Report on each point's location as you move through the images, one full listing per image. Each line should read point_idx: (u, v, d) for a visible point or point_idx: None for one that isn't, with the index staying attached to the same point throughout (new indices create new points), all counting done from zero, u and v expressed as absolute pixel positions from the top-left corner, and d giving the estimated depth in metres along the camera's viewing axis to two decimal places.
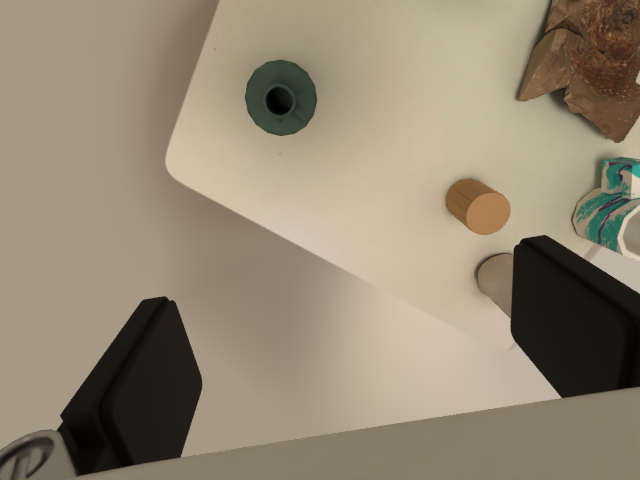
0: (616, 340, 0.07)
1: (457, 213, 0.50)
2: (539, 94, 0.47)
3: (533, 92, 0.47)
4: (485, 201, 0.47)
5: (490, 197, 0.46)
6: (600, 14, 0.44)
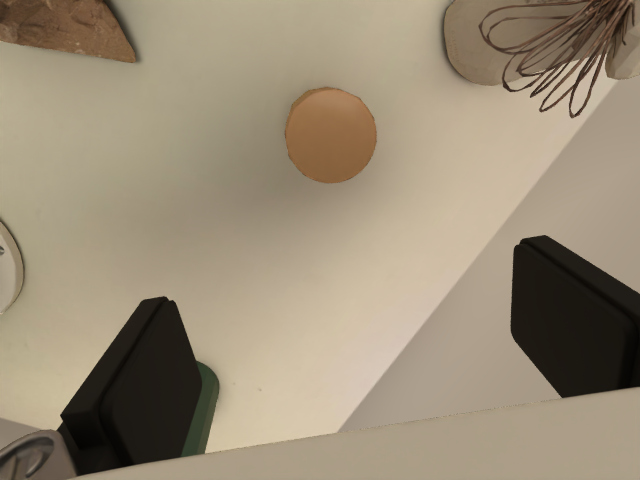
0: (616, 340, 0.07)
1: None
2: (112, 26, 0.25)
3: (112, 40, 0.25)
4: (304, 149, 0.23)
5: (296, 140, 0.23)
6: None
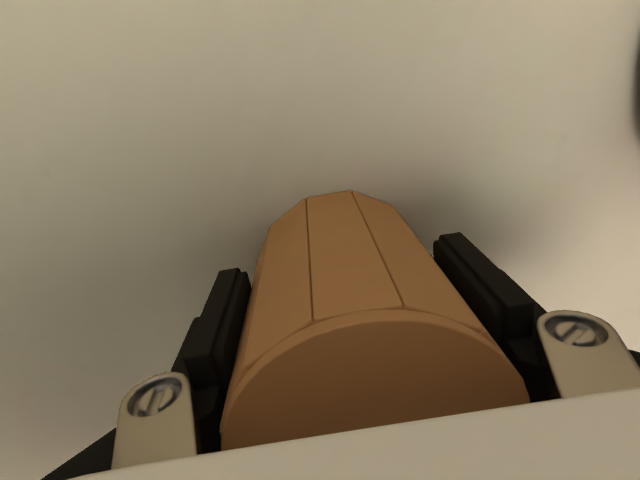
0: (489, 323, 0.08)
1: None
2: None
3: None
4: None
5: None
6: None
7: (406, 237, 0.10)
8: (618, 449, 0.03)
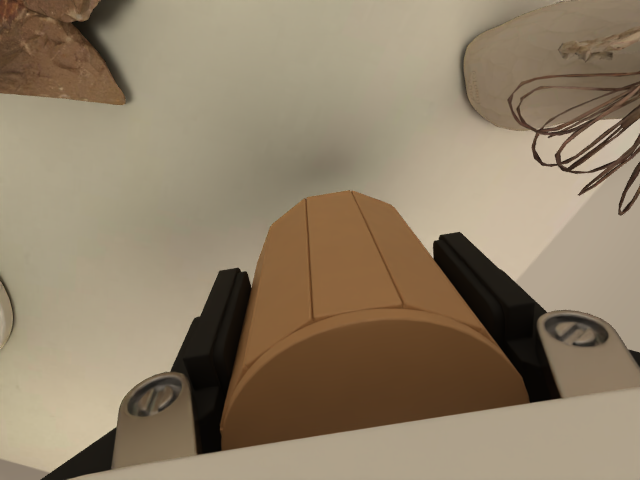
0: (489, 323, 0.08)
1: None
2: (99, 68, 0.23)
3: (99, 83, 0.23)
4: None
5: None
6: None
7: (406, 236, 0.10)
8: (618, 449, 0.03)
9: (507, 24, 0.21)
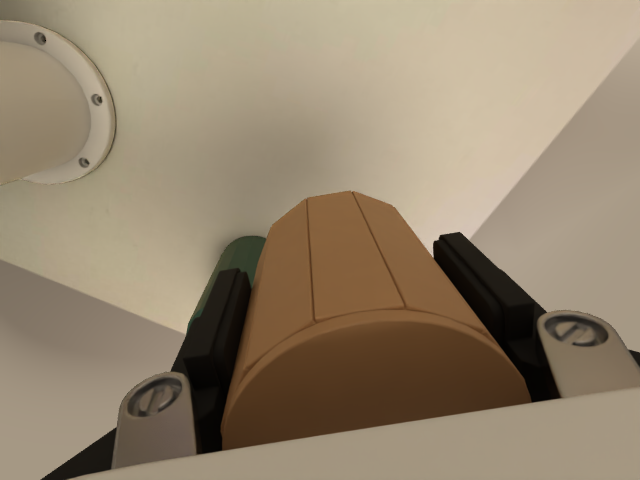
0: (489, 323, 0.08)
1: None
2: None
3: None
4: None
5: None
6: None
7: (407, 237, 0.10)
8: (618, 449, 0.03)
9: None
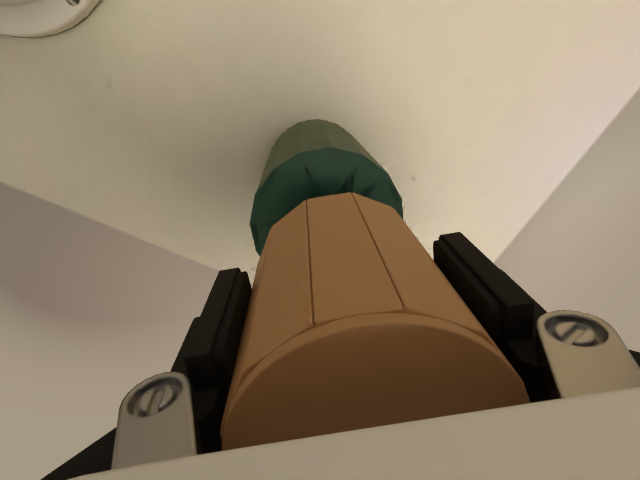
0: (489, 323, 0.08)
1: None
2: None
3: None
4: None
5: None
6: None
7: (407, 239, 0.10)
8: (618, 449, 0.03)
9: None
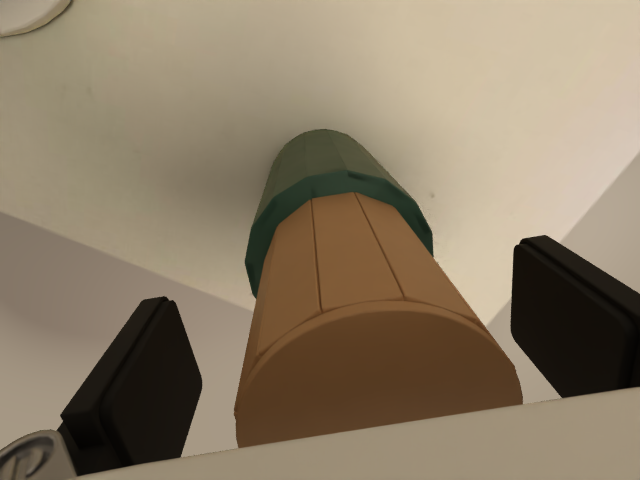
0: (616, 340, 0.07)
1: None
2: None
3: None
4: None
5: (268, 440, 0.07)
6: None
7: (407, 235, 0.10)
8: (618, 449, 0.03)
9: None
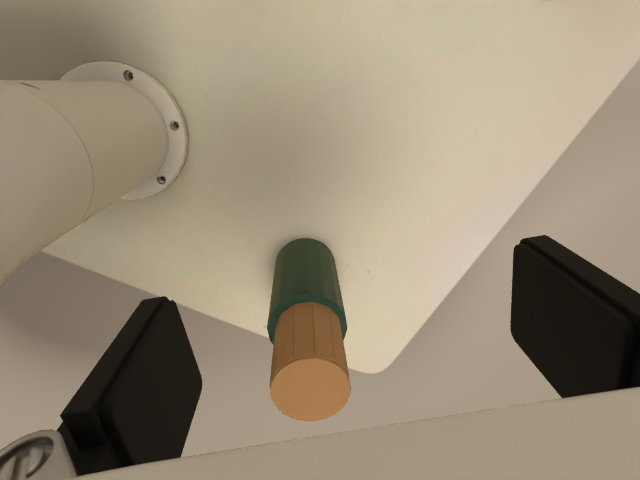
0: (616, 340, 0.07)
1: None
2: None
3: None
4: (287, 399, 0.26)
5: (279, 393, 0.26)
6: None
7: (326, 326, 0.29)
8: (618, 449, 0.03)
9: None
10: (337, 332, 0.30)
